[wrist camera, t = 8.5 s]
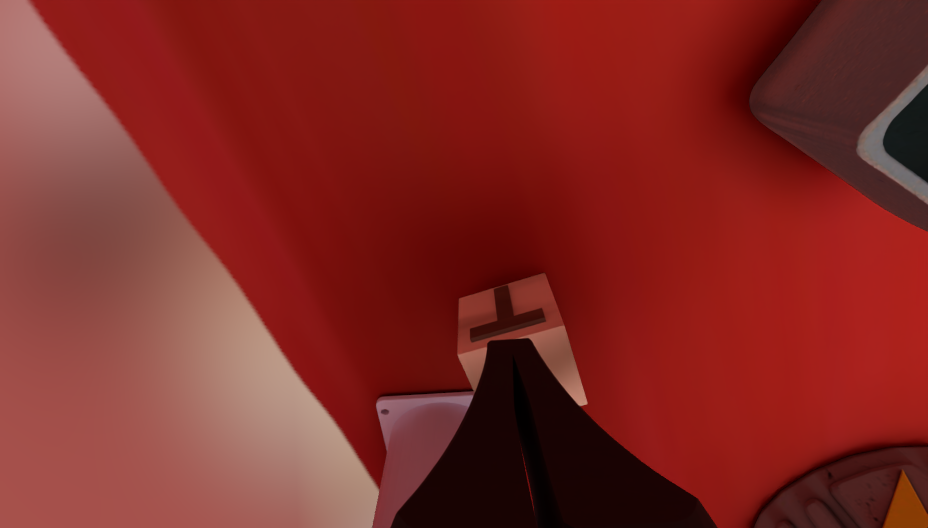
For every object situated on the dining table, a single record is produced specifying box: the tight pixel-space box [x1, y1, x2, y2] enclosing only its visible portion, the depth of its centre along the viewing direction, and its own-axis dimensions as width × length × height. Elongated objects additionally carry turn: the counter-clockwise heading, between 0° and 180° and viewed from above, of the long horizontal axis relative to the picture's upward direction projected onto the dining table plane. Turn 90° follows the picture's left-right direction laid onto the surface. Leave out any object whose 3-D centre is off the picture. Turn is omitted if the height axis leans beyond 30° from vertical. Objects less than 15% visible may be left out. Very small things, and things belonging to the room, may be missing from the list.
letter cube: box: [457, 273, 587, 406], centre depth 21 cm, size 5×5×5 cm
